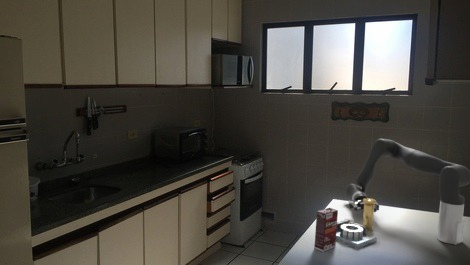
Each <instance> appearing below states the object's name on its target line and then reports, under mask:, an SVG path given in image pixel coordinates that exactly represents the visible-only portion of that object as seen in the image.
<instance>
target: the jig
mask: <svg viewBox="0 0 470 265" xmlns="http://www.w3.org/2000/svg"><path fill="white" fill-rule="evenodd" d="M367 232H368V231H367V227H366V226H363V224H360V223H357V222H354V223H350V220H348V219H344V220H341V221H337V231H336V241H338V242H340V243H343V244H345V245H347V246H350V247H353V248H354V249H359V248H362V247H365V246H368V245H371V244H374V243H377V237H376V236H375V235H371V234H369V233H367Z"/></svg>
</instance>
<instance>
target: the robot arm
mask: <svg viewBox="0 0 470 265" xmlns="http://www.w3.org/2000/svg"><path fill="white" fill-rule="evenodd" d="M381 157H384V158H385V157H386V158H392V159H395V160H398V161H401V162H402V163H403V164H404V165H405V166H406V167H408V168H409V169H411V170H414V171H417V172H419V173H422V174H423V173H424V174H428V175H434V176H439V180H438V182H439V184H438V192H439V197H440V199H439V200H440V201H439V202H440V203H439V209H438V212H439V213H438V220H437V221H438V222H437V232H436V239H437V240H438V241H440V242H442V243H446V244H449V245H450V244H452V245H455V246H457V245H459V244H461V243H463V240H464V239H463V238H464V229H465V220H464V212H465V211H464V210H465V209H464V208H465V197H464V195H461V194H460V188H461V187H464V186H467V185H469V184H470V169H469V168H467V166H464V165H461V164H457V163H454V162H449V161H445V160H443V159H441V158H438V157H436V156H433V155H432V154H431V155H430V154H428V153H426V152H424V151H421V150H417V149H414V148H411V147H407V146H405V145H402V144H400V143H399V142H396V141H395V140H392V139H388V138H378V139H376V140H375V141H374V142H373V144H372V146H371V149H370V152H369V154H368V157H367V159H366V161H365V163H364V166H363V168H362V169H361V171H360V172H359V174H358V175H357V177H356V180H355V182H356V183H350V184H347V186H346V188H345V193H346V195H347V196H348V197H349V198H350V199H352V200H349V199H348V208H349V209H352V210H354V211H355V212H358V210H361V211H364V203H363V199H365V198H368V195H367V194H366V192H367V189H368V187H369V184H370V183H371V181H372V180H373V179H374V176H375V175H376V174H375V173H376V165H377V162H378V161H379V159H380V158H381ZM357 184H358V185H357ZM379 210H380V204H379V203H378V202H377V201H376V204H374V213H377V211H379Z"/></svg>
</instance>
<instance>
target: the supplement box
mask: <svg viewBox="0 0 470 265" xmlns="http://www.w3.org/2000/svg"><path fill="white" fill-rule="evenodd" d="M338 213H339V210H338V209H335V208H332V207H328V208H324V209H321V210H317V211H316V219H315V220H316V221H315V231H314V234H315V236H314V247H313V248H314V249H315V250H317V251H320V252H323V253H324V252H327V251H328V250H331V249H333V248H336V245H337V244H336V242H337V240H336V231H337V222H338Z"/></svg>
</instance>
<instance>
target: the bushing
mask: <svg viewBox="0 0 470 265" xmlns="http://www.w3.org/2000/svg"><path fill="white" fill-rule="evenodd" d="M376 202H377V200H376V199H374V198H370V197H369V198H368V197H367V198H365V199H363V203H364V209H363V218H362V225H363V226H366V227H367V232H372V231H373V228H374V214H375V212H374V204H376Z"/></svg>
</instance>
